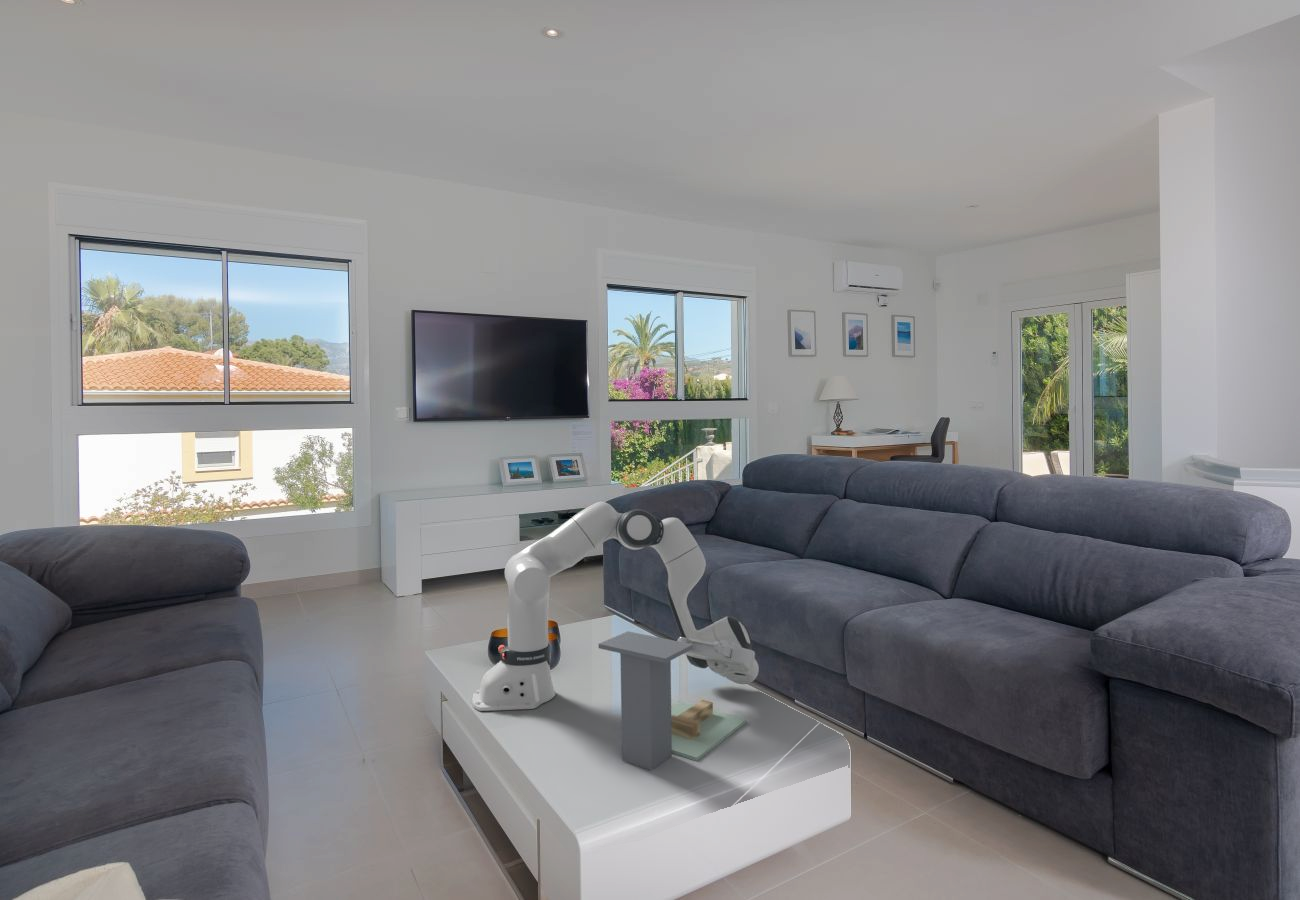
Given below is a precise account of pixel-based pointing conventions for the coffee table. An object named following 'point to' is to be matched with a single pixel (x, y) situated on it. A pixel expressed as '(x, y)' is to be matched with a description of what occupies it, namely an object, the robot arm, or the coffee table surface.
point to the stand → (646, 695)
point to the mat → (704, 733)
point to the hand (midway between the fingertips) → (700, 644)
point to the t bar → (691, 720)
